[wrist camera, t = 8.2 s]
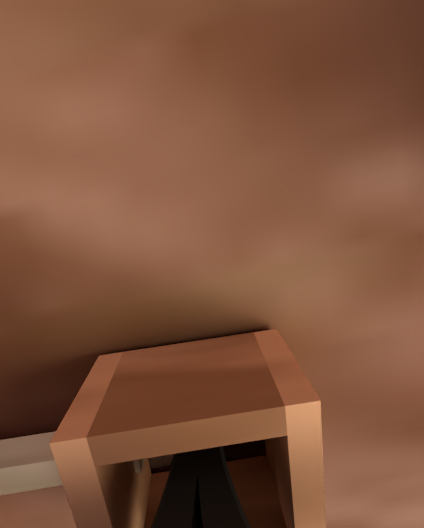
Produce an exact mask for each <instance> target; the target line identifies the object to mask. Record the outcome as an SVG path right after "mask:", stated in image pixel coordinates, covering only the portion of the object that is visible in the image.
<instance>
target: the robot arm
mask: <svg viewBox="0 0 424 528" xmlns="http://www.w3.org/2000/svg"><path fill="white" fill-rule="evenodd" d="M151 528H251V527H250V524H249V522H248V520H247V517H246V515H245V513H244V510H243V508H242V506H241V503H240V501H239V498H238V496H237V493H236V490H235V487H234V485H233V482H232V479H231V476H230V473H229V470H228V466H227V463H226V458H225V454H224V447H222V446H219V447H213V448H207V449H201V450H195V451H188V452H182V453H176V454H175V455H174V457H173V461H172V465H171V468H170V472H169V475H168V479H167V482H166V485H165V488H164V491H163V494H162V497H161V500H160V503H159V506H158V509H157V512H156V515H155V517H154V520H153V523H152V525H151Z"/></svg>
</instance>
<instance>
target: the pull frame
mask: <svg viewBox="0 0 424 528" xmlns="http://www.w3.org/2000/svg"><path fill="white" fill-rule="evenodd" d="M263 439H265V446H266V455H265V456H259V457H253V458H247V459H241V460H235V461H229V462H226V463H227V466H228V470H229V473H230V476H231V479H232V482H233V485H234V487H235V490H236V493H237V496H238V498H239V501H240V503H241V506H242V508H243V510H244V513H245V515H246V517H247V520H248V522H249V524H250V527H251V528H326V513H325V491H324V469H323V447H322V425H321V403H320V399H319V397H318V396H317V394H316V392H315V391H314V389H313V388H312V386H311V384H310V383H309V381H308V379H307V378H306V376H305V374H304V373H303V371H302V369H301V368H300V366H299V364H298V363H297V361H296V359H295V358H294V356H293V355H292V353H291V351H290V350H289V348H288V346H287V345H286V343H285V341H284V340H283V338H282V336H281V335H280V333H279V331H278V330H277V329H272V330H265V331H259V332H252V333H245V334H239V335H232V336H225V337H219V338H212V339H205V340H199V341H192V342H186V343H179V344H172V345H166V346H159V347H152V348H146V349H139V350H132V351H126V352H119V353H112V354H106V355H99V357H98V358H97V360H96V362H95V364H94V365H93V367H92V369H91V371H90V372H89V374H88V376H87V378H86V380H85V381H84V383H83V385H82V387H81V388H80V390H79V392H78V394H77V395H76V397H75V399H74V401H73V402H72V404H71V406H70V408H69V409H68V411H67V413H66V415H65V416H64V418H63V420H62V422H61V424H60V425H59V427H58V429H57V431H55V432H49V433H42V434H36V435H30V436H23V437H17V438H10V439H4V440H0V495H6V494H12V493H18V492H24V491H31V490H37V489H43V488H49V487H55V486H61V485H63V487H64V490H65V493H66V496H67V499H68V502H69V505H70V508H71V511H72V514H73V517H74V520H75V523H76V526H77V528H151V525H152V523H153V520H154V517H155V515H156V512H157V509H158V506H159V503H160V500H161V497H162V494H163V491H164V488H165V485H166V482H167V479H168V475H169V472H170V471H167V472H161V473H155V474H151V469H150V465H149V461H148V458H151V457H157V456H164V455H170V454H176V453H182V452H188V451H195V450H201V449H207V448H213V447H219V446H226V445H232V444H238V443H244V442H250V441H257V440H263Z"/></svg>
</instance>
